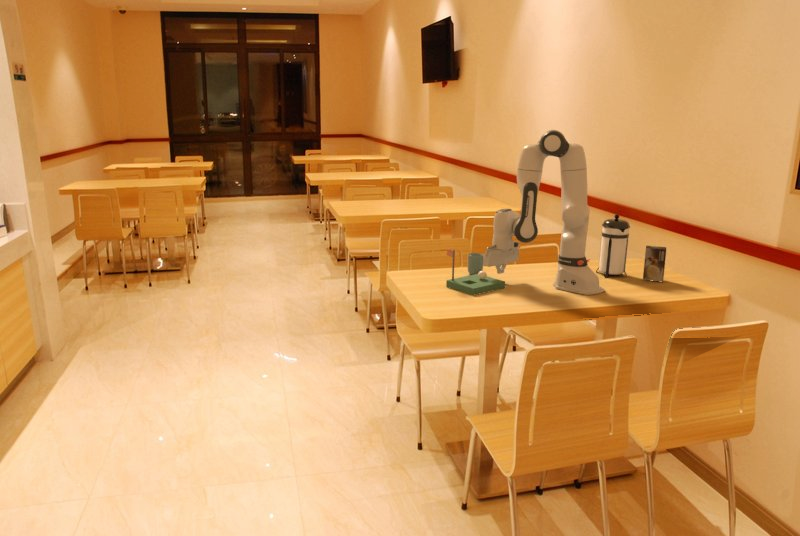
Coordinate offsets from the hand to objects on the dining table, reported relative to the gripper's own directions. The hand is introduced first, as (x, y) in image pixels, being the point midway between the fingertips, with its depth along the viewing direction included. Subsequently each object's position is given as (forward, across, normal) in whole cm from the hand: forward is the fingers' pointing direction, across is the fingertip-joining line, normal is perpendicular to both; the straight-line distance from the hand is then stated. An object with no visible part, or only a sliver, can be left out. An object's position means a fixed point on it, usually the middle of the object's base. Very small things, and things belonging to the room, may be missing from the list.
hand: (500, 273), depth 287 cm
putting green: (+4, -16, +1) cm, 17 cm away
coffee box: (+4, +62, -40) cm, 74 cm away
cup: (+4, 0, +16) cm, 17 cm away
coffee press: (+4, +55, -22) cm, 59 cm away
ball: (-1, -12, 0) cm, 12 cm away
